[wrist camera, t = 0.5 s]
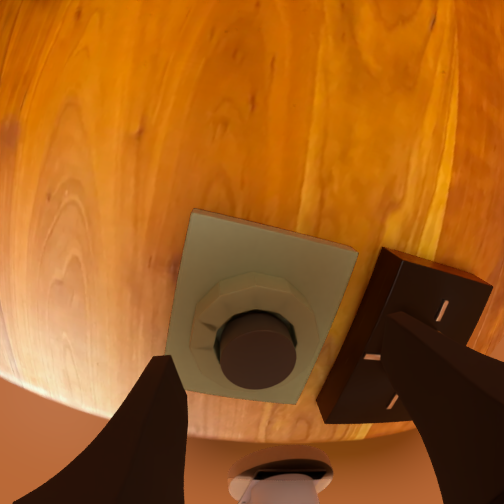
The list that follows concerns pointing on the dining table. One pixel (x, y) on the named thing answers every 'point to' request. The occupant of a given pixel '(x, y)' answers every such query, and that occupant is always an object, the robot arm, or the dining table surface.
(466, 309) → the lock plate
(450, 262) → the dining table surface
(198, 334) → the doorbell
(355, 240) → the dining table surface
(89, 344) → the dining table surface
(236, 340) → the bell button
